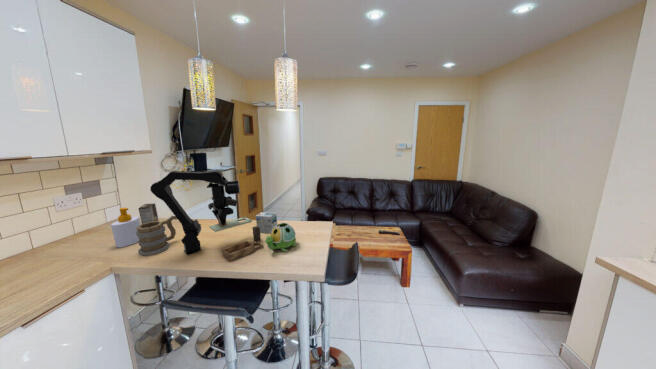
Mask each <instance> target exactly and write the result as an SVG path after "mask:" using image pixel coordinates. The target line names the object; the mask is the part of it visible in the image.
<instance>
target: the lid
mask: <svg viewBox="0 0 656 369" xmlns="http://www.w3.org/2000/svg"><path fill="white" fill-rule="evenodd" d="M217 221H218V223H216V224H213V225H209V226H208V227H209V228H210V229H211V230H212V231H213V232H215V233H217V232H221V231H224V230H228V229H232V228H235V227H239V226H242V225H246V224H250V223H253V220H252V219H250V218H248V217H247V216H243V217H240V218H235V219H232V220H226V221H225V225H222V223H221V222H220V220H219V218H218V220H217Z"/></svg>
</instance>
